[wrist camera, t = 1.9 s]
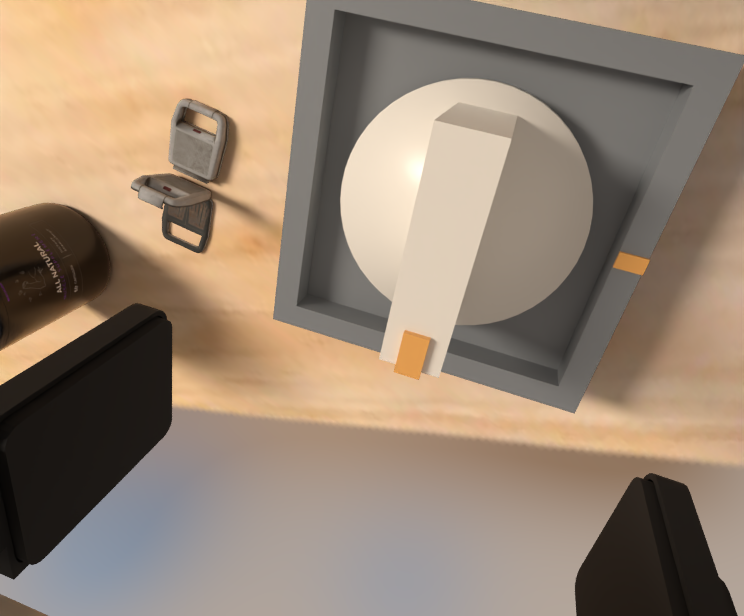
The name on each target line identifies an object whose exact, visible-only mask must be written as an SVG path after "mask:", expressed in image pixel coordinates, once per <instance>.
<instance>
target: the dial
mask: <svg viewBox="0 0 744 616" xmlns="http://www.w3.org/2000/svg"><path fill="white" fill-rule="evenodd" d="M340 204H341V218H342V224H343V230H344V233H345V237H346V240H347V243H348V246H349V248H350V250H351V253H352V255H353V257H354V259H355V261H356V262H357V264H358V266H359V267H360V269H361V270H362V272H363V273H364V274H365V276H366V277H367V278H368V280H369V281H370V282H371V283H372V284H373V285H374V286H375V287H376V288H377V289H378V290H379V291H380V292H381V293H382V294H383V295H384V296H386V297H387V298H388V299H389V300H390V301H392V305H391V309H390V314H389V318H388V322H387V327H386V331H385V335H384V340H383V344H382V348H381V353H380V357H379V359H381V360H384V361H387V362H390V363H393V364H396V365H395V369H394V372H396V373H399V374H402V375H405V376H408V377H411V378H414V379H418V380H419V378H420V374H421V372H422V373H425V374H428V375H431V376H434V377H438V378H439V375H440V372H441V369H442V366H443V362H444V359H445V356H446V353H447V349H448V346H449V343H450V339H451V336H452V333H453V330H454V326H455V325H480V324H489V323H493V322H497V321H502V320H505V319H508V318H511V317H513V316H516V315H519V314H521V313H522V312H524V311H526V310H528V309H530V308H532V307H534V306H535V305H537V304H538V303H540V302H541V301H543V300H544V299H545V298H547V297H548V296H549V295H550V294H551V293H552V292H553V291H555V290H556V289H557V288H558V287H559V286H560V284H561V283H562V282H563V281H564V280H565V279H566V278H567V277H568V275H569V274H570V272H571V271H572V269H573V268H574V266H575V265H576V263H577V261H578V259H579V257H580V255H581V253H582V251H583V249H584V247H585V244H586V241H587V238H588V235H589V232H590V226H591V221H592V215H593V192H592V182H591V178H590V174H589V170H588V166H587V163H586V160H585V158H584V155H583V153H582V151H581V148H580V146H579V144H578V142H577V140H576V139H575V137H574V135H573V134H572V132H571V130H570V129H569V127H568V126H567V125H566V124H565V123H564V121H563V120H562V119H561V118H560V117H559V115H558V114H557V113H555V112H554V111H553V110H552V109H551V108H550V107H549V106H548V105H546V104H545V103H544V102H543V101H541V100H539V99H538V98H536V97H535V96H533V95H532V94H530V93H528V92H526V91H524V90H522V89H520V88H518V87H516V86H513V85H510V84H506V83H503V82H500V81H496V80H490V79H483V78H457V79H450V80H443V81H440V82H436V83H433V84H429V85H426V86H423V87H421V88H419V89H416V90H414V91H412V92H410V93H407V94H406V95H404V96H402V97H401V98H399V99H397V100H396V101H394V102H393V103H391V104H390V105H389V106H388V107H386V108H385V109H384V110H383V111H381V112H380V113H379V114H378V115H377V116H376V117H375V118H374V119H373V120H372V122H371V123H370V124H369V125H368V126H367V127H366V129H365V130H364V132H363V133H362V134H361V136H360V137H359V139H358V140H357V142H356V144H355V146H354V148H353V150H352V152H351V154H350V157H349V159H348V162H347V165H346V167H345V171H344V176H343V180H342V186H341V197H340Z"/></svg>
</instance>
